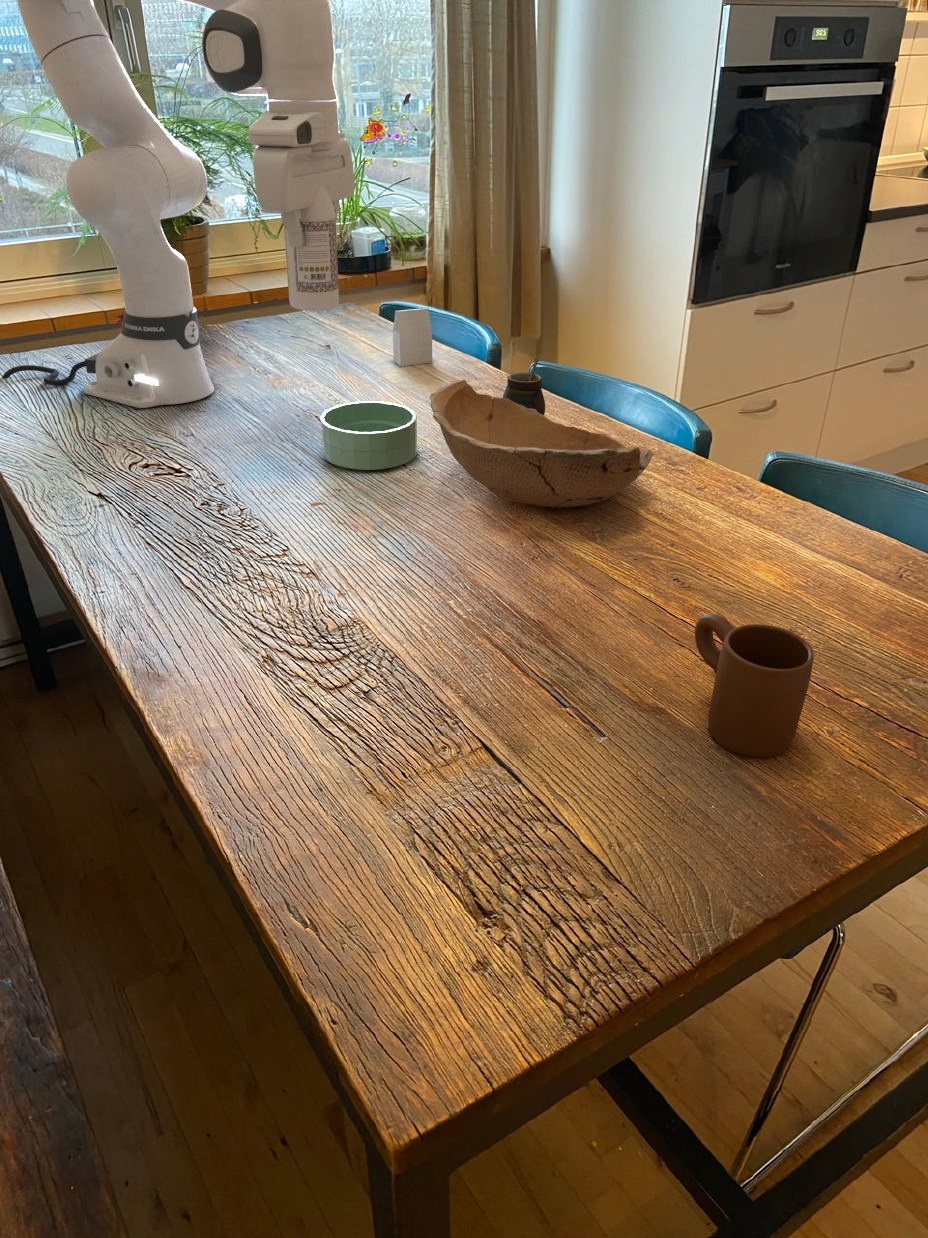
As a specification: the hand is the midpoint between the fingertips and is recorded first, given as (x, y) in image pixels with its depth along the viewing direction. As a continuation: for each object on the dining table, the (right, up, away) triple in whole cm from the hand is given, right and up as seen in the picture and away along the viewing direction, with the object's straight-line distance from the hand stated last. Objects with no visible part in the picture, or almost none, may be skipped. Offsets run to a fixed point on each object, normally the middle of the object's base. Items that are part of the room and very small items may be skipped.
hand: (313, 241), depth 124 cm
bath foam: (-1, -7, +5) cm, 9 cm away
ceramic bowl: (+31, -34, +3) cm, 46 cm away
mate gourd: (+30, -20, +26) cm, 44 cm away
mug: (+45, -61, -41) cm, 86 cm away
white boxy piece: (+10, -1, +56) cm, 57 cm away
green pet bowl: (+6, -27, +14) cm, 31 cm away
